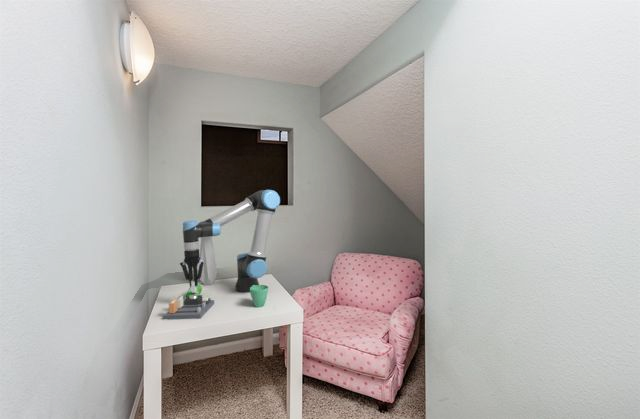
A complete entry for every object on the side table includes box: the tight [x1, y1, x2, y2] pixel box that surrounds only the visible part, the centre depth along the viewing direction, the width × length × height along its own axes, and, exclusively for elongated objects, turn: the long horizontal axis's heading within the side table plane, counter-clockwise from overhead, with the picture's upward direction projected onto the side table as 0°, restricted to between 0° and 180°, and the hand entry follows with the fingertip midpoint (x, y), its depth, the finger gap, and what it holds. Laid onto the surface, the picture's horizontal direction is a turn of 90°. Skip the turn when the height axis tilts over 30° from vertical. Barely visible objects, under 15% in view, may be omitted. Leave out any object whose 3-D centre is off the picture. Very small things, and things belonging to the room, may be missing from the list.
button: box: [189, 294, 198, 299], centre depth 169 cm, size 4×4×4 cm
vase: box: [198, 236, 218, 286], centre depth 213 cm, size 12×12×33 cm
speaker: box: [184, 283, 203, 299], centre depth 182 cm, size 18×7×8 cm, turn 14°
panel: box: [163, 294, 215, 320], centre depth 162 cm, size 18×21×5 cm
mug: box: [249, 284, 269, 308], centre depth 170 cm, size 15×10×10 cm
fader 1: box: [168, 299, 178, 313], centre depth 155 cm, size 2×4×5 cm, turn 1°
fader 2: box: [174, 295, 184, 308], centre depth 162 cm, size 2×4×5 cm, turn 1°
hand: (194, 291), depth 169 cm, fingers closed
